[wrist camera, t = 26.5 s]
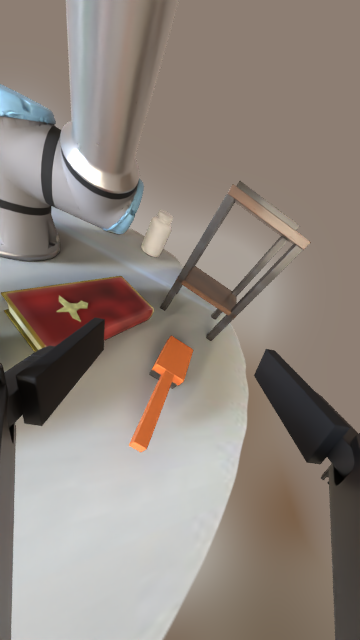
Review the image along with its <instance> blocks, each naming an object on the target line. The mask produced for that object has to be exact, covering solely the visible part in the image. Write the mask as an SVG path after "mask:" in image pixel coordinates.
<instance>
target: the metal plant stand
mask: <svg viewBox="0 0 360 640" xmlns="http://www.w3.org/2000/svg"><path fill="white" fill-rule="evenodd" d="M235 202H236V203H237V204H238V205H240V206H241V207H242V208H244V209H246V210H247V211H248V212H249V213H251V214H252V215H253V216H255V217H256V218H257V219H259V220H260V221H262V222H263V223H264V224H266V225H267V226H268V227H269V228H271V229H272V230H273V231H275V232H276V233H278V234H279V235H280V236H281V237H280V238H279V239H278V240H277V241H276V242H275V244H274V245H273V246H272V247H271V248H270V249H269V251H268V252H267V253H266V254H265V255H264V256H263V257H262V259H261V260H260V261H259V262H258V263H257V264H256V265H255V267H254V268H253V269H252V270H251V271H250V272H249V273H248V274H247V275H246V277H245V278H244V279H243V280H242V281H241V282H240V283H239V284H238V286H237V287H236V288H235V289H234V290H233V291H231V290H229V289H228V288H226V287H225V286H223V285H222V284H220V283H219V282H218V281H216V280H215V279H213V278H212V277H210V276H209V275H207V274H206V273H204V272H203V271H201V270H200V269H199V268H197V267H196V266H195V265H196V263H197V261H198V260H199V258H200V257H201V255H202V254H203V252H204V250H205V249H206V247H207V246H208V244H209V242H210V241H211V239H212V238H213V236H214V234H215V233H216V231H217V230H218V228H219V227H220V225H221V224H222V222H223V220H224V219H225V217H226V215H227V214H228V212H229V211H230V209H231V208H232V206H233V204H234V203H235ZM299 227H300V226H299V225H298V224H297V223H295V222H294V221H293V220H291V219H290V218H289V217H288V216H286V215H285V214H284V213H282V212H281V211H279V210H278V209H277V208H276V207H274V206H273V205H272V204H270V203H269V202H268V201H266V200H265V199H264V198H262V197H261V196H260V195H258V194H257V193H256V192H254V191H253V190H252V189H250V188H249V187H248V186H246V185H245V184H244V183H242V182H241V181H239V183H238V184H237V186H235V185H234V184H233V185H232V186H231V188H230V190H229V191H228V194H227V195H226V197H225V198H224V200H223V202H222V204H221V205H220V207H219V208H218V210H217V212H216V214H215V215H214V217H213V219H212V220H211V222H210V224H209V225H208V227H207V229H206V231H205V232H204V234H203V236H202V237H201V239H200V241H199V242H198V244H197V246H196V248H195V249H194V251H193V252H192V254H191V256H190V258H189V259H188V261H187V263H186V265H185V266H184V268H183V269H182V271H181V273H180V275H179V276H178V278H177V280H176V281H175V283H174V285H173V286H172V288H171V290H170V291H169V293H168V295H167V297H166V298H165V300H164V302H163V303H162V305H161V307H160V308H161V309H163V310H164V311H165V310H166V309H167V307H168V305H169V304H170V302H171V301H172V299H173V297H174V296H175V294H177V293H178V292H179V290H180V288H181V287H182V285H184V286H185V287H186V288H188V289H189V290H191V291H192V292H194V293H195V294H197V295H198V296H200V297H201V298H203V299H204V300H206V301H207V302H209V303H210V304H212V305H213V306H215V307H216V308H217V309H216V311H215V312H214V313H213V314H212V316H211V317H212V318H213V319H216V318H217V317H218V316H219V315H220V314H221V313H222V312H224V313H225V314H227V315H226V316H225V317H224V318H223V319H222V320H221V321H220V322H219V323H218V324H217V325H216V326H215V327H214V328H213V329H212V330H211V331H210V332H209V333H208V334H207V339H209V340H210V341H212V340H213V339H214V338H215V337H216V336H217V335H218V334H219V333H220V332H221V331H222V330H223V329H224V328H225V327H226V326H227V325H228V324H229V323H230V322H231V321H232V320H233V319H234V318H235V317H236V316H237V315H238V314H239V313H240V312H241V311H242V310H243V309H244V308H245V307H246V306H247V305H248V304H249V303H250V302H251V301H252V300H253V299H254V298H255V297H256V296H257V295H258V294H259V293H260V292H261V291H262V290H263V289H264V288H265V287H266V286H267V285H268V284H269V283H270V282H271V281H272V280H273V279H274V278H275V277H276V276H277V275H278V274H279V273H280V272H282V270H284V269H285V268H286V267H287V266H288V265H289V264H290V263H291V262H292V261H293V260H294V259H295V258H296V257H297V256H298V255H299V254H300V253H301V252H302V250H304V249H305V248H306V247H307V246H308V245H309V244H310V243H311V242H310V241H309V240H307V239H306V238H305V237H303V236H302V235H301V234H299V233H298V232H297V231H296V230H297V229H298V228H299ZM287 241H289V242H291V243H292V244H293V245H292V246H291V248H290V249H289V250H288V251H287V252H286V253H285V254H284V255H283V256H282V257H281V258H280V259H279V260H278V261H277V262H276V263H275V264H274V266H272V267H271V268H270V269H269V271H268V272H267V273H266V274H265V275H264V276H263V277H262V278H261V279H260V280H259V281H258V282H257V283H256V284H255V285H254V286H253V287H252V289H250V290H249V291H248V293H247V294H246V295H245V296H244V297H243V298H242V299H241V300H240V301H239V302H238V303H237V304H236V296H237V295H238V294H239V293H240V292H241V291H242V290H243V289H244V288H245V287H246V286H247V285H248V283H249V282H250V281H251V280H252V279H253V278H254V277H255V276H256V275H257V274H258V273H259V271H260V270H261V269H262V268H263V267H264V266H265V265H266V264H267V263H268V262H269V261H270V260H271V258H272V257H273V256H274V255H275V254H276V253H277V252H278V251H279V250H280V249H281V247H283V245H284V244H285V243H286V242H287Z"/></svg>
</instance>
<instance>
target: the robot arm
mask: <svg viewBox="0 0 360 640" xmlns="http://www.w3.org/2000/svg"><path fill="white" fill-rule="evenodd" d="M178 2H179V0H66V13H67V33H68V34H67V35H68V56H69V77H70V97H71V119H72V121H70V122H68V123H66V124H65V126H64V127H63V128H62V130H60V129H58V128H57V127H55V126H54V124H55V123H56V121H55V119H54V115H53V113H52V111H51V110H49V109H48V108H45V107H44V106H42V105H41V104H39V103H37V102H35V101H33V100H31V99H29V98H28V97H26V96H24V95H22V94H20V93H17V92H16V91H14V90H11V89H9V88H7V87H5V86H3V85H1V84H0V257H4V258H9V259H14V260H22V261H41V260H47V259H50V258H53V257H55V256H56V255H57V254H58V253H59V249H60V242H59V235H58V234H57V231H56V228H55V225H54V222H53V219H52V216H51V206H53V207H55V208H58V209H60V210H62V211H64V212H67V213H69V214H71V215H73V216H75V217H78V218H80V219H82V220H84V221H87V222H89V223H91V224H93V225H95V226H98V227H100V228H102V229H103V230H105V231H111V232H113V233H116V234H123V233H125V232H126V231H127V230H128V228H129V227H130V225H131V223H132V221H133V219H134V217H135V213H136V212H137V210H138V208H139V205H140V202H141V198H142V194H143V188H144V186H143V182H142V181H141V180H140V179H139V166H138V163H137V160H136V158H135V156H136V152H137V149H138V145H139V142H140V138H141V134H142V131H143V127H144V123H145V120H146V116H147V113H148V109H149V106H150V102H151V99H152V95H153V92H154V88H155V84H156V81H157V77H158V74H159V70H160V66H161V63H162V59H163V56H164V52H165V49H166V45H167V42H168V38H169V35H170V30H171V27H172V24H173V20H174V17H175V13H176V9H177V6H178ZM104 329H105V319H101V318H96V317H95V318H93V319H92V320H90V321H89V322H88V323H86V324H85V325H84V326H82V327H81V328H80V329H78V330H77V331H75V332H74V333H73V334H71V335H70V336H69V337H67V338H66V339H65V340H63V341H62V342H60V343H59V344H58V345H56V346H50V345H49V346H47V347H44V348H42V349H39V350H38V351H36V352H35V353H33V354H32V355H31V356H29V357H27V358H26V359H24V361H21V362H20V363H18V364H17V365H15V366H14V367H12V368H11V369H9V370H8V371H6V372H5V373H4V370H3V366H2V364H1V363H0V640H11V613H12V570H13V528H14V485H15V443H16V425H15V422H16V421H17V420H18V419H19V418H20V417H21V416H22V415H23V418H24V423H25V424H32V425H39V426H42V425H43V424H44V423H45V421H46V420H47V419H48V418H49V417H50V415H51V414H52V413H53V412H54V410H55V409H56V408H57V407H58V405H59V404H60V403H61V402H62V400H63V399H64V398H65V397H66V396H67V394H68V393H69V392H70V391H71V389H72V388H73V387H74V386H75V384H76V383H77V382H78V381H79V379H80V378H81V377H82V376H83V374H84V373H85V372H86V371H87V370H88V368H89V367H90V366H91V365H92V363H93V362H94V361H95V360H96V358H97V357H98V356H99V355H100V353H101V352H102V351H103V350H104ZM254 376H255V378H256V380H257V381H258V383H259V384H260V386H261V388H262V389H263V391H264V393H265V394H266V396H267V398H268V399H269V401H270V403H271V404H272V406H273V407H274V409H275V411H276V413H277V414H278V416H279V417H280V419H281V420H282V422H283V424H284V426H285V427H286V429H287V430H288V432H289V434H290V436H291V437H292V439H293V440H294V442H295V444H296V445H297V447H298V449H299V450H300V452H301V454H302V455H303V457H304V459H305V460H306V462H308V463H315V464H321V463H322V462H323V461H324V459H325V458H326V457H328V459H329V460H330V461H331V462H332V464H331V465H330V466H329V468H328V469H327V470H326V471H325V472H324V474H323V475H322V477H321V479H322V480H324V479H325V478H326V477H329V482H328V484H329V491H330V492H329V493H330V518H331V543H332V565H333V567H332V568H333V593H334V617H335V640H360V433H359V434H358V433H357V432H356V431H355V430H354V429H353V428H352V427H351V426H350V425H349V424H348V423H347V422H346V421H345V420H344V419H343V418H342V417H341V416H340V415H339V414H338V412H337V411H335V410H334V409H333V408H332V406H331V405H329V404H328V402H327V401H326V400H325V399H324V398H323V397H322V396H320V395H319V394H318V393H316V392H315V391H314V390H313V389H312V388H311V387H310V386H309V385H308V384H307V383H306V382H305V381H304V380H303V379H302V378H301V377H300V376H299V375H298V374H297V373H296V372H295V371H294V370H293V369H292V368H291V367H290V366H289V365H288V364H287V363H286V362H285V361H284V360H283V359H282V358H281V356H280V355H279V354H277V353H276V351H274V350H268V349H266V350H265V353H264V355H263V357H262V359H261V362H260V364H259V366H258V368H257V370H256V373H255V375H254Z"/></svg>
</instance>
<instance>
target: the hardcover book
mask: <svg viewBox="0 0 360 640" xmlns="http://www.w3.org/2000/svg"><path fill="white" fill-rule="evenodd" d="M1 295H2V296H3V297H4V299H5V300H6V301H7V303H8V308H9V309H6V310H4V311H5V313H6V314H7V316H8V317H9V318H10V320H11V321H12V322H13V324H14V325H15V326H16V328H17V329H18V330H19V332H20V333H21V335H22V336H23V337H24V339H25V340H26V341H27V343H28V344H29V345H30V347H31V348H32V349H33V351H34V352H36V351H38V350H39V349H42V348H44V347H47V346H49V345H50V346H56V345H58V344H59V343H60V342H62V341H63V340H65V339H66V338H67V337H69V336H70V335H71V334H73V333H74V332H75V331H77V330H78V329H80V328H81V327H82V326H84V325H85V324H86V323H88V322H89V321H90V320H92V319H93V318H95V317H96V318H101V319H105V329H104V340H106V339H108V338H110V337H112V336H115V335H117V334H119V333H121V332H123V331H125V330H127V329H130V328H132V327H134V326H136V325H138V324H140V323H142V322H144V321H147V320H149V319H150V317H151V316H152V314H153V311H154V308H153V307H152V306H151V305H150V304H149V303H148V302H147V301H146V300H145V299H144V298H143V297H142V296H141V295H140V294H139V293H138V292H137V291H136V290H135V289H134V288H133V287H132V286H131V285H130V284H129V283H128V282H127V281H126V280H125V279H124V278H123V277H122V276H116V277H109V278H102V279H95V280H88V281H80V282H73V283H66V284H59V285H52V286H44V287H37V288H30V289H23V290H15V291H8V292H1Z"/></svg>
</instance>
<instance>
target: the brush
mask: <svg viewBox="0 0 360 640" xmlns="http://www.w3.org/2000/svg"><path fill="white" fill-rule="evenodd" d="M192 353H193V349H191V348H190V347H188V346H187V345H185V344H184V343H182V342H181V341H179V340H177V339H176V338H174V337H173V336H170V338H169V339H168V340H167V342H166V344H165V346H164V347H163V349H162V351H161V353H160V355H159V357H158V359H157V360H156V362H155V364H154V366H153V368H152V370H151V372H150V374H149V375H151V376H153V377H154V378H156V379H158V380H159V381H158V383H157V385H156V387H155V389H154V391H153V394H152V396H151V398H150V400H149V402H148V404H147V407H146V409H145V411H144V413H143V415H142V418H141V420H140V422H139V424H138V426H137V428H136V431H135V433H134V435H133V437H132V439H131V442H130V444H129V446H131V447H132V448H134V449H136V450H138V451H139V452H142V451H144V450H146V449H147V447H148V445H149V442H150V439H151V437H152V434H153V431H154V429H155V426H156V423H157V421H158V418H159V415H160V413H161V410H162V407H163V405H164V402H165V399H166V397H167V394H168V391H169V389H170V387H171V388H172V389H173V388H174V387H175V386H176V385H178V386H179V385H180V384H181V383H182V382H183V381H184V379H185V376H186V372H187V369H188V366H189V363H190V359H191V356H192Z"/></svg>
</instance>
